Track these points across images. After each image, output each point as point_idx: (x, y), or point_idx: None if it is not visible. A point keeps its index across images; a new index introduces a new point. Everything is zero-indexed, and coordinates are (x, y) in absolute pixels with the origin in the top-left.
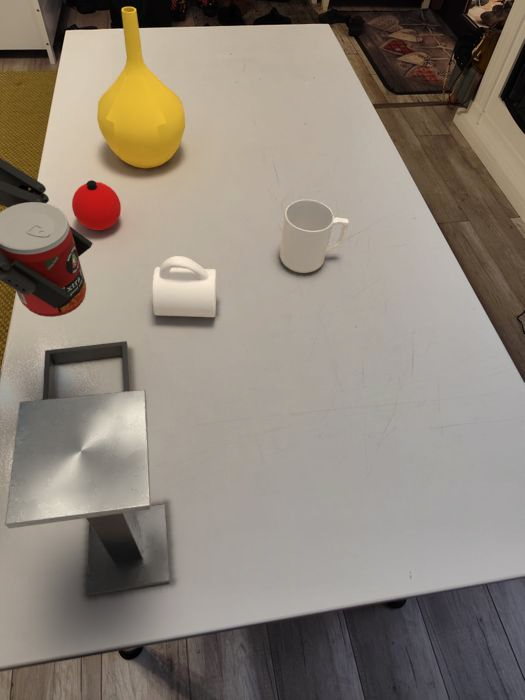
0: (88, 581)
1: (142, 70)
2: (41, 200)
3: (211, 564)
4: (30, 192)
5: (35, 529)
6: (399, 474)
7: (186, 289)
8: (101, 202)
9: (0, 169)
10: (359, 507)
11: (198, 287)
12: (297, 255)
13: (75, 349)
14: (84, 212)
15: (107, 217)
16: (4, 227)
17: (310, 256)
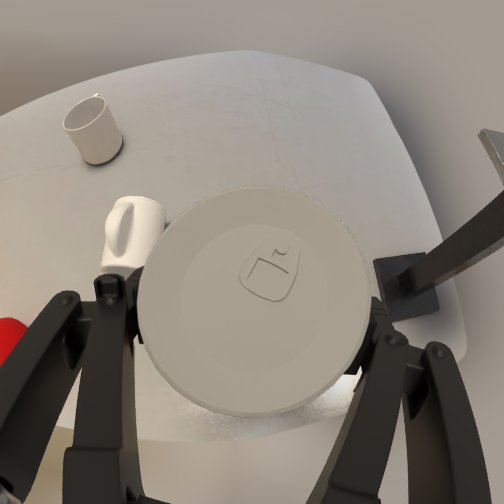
0: (433, 310)
1: None
2: (112, 294)
3: (407, 225)
4: (74, 333)
5: None
6: (322, 107)
7: (142, 228)
8: (9, 333)
9: (28, 392)
10: (350, 131)
11: (142, 214)
12: (110, 138)
13: None
14: None
15: (24, 332)
16: (260, 376)
17: (115, 128)
